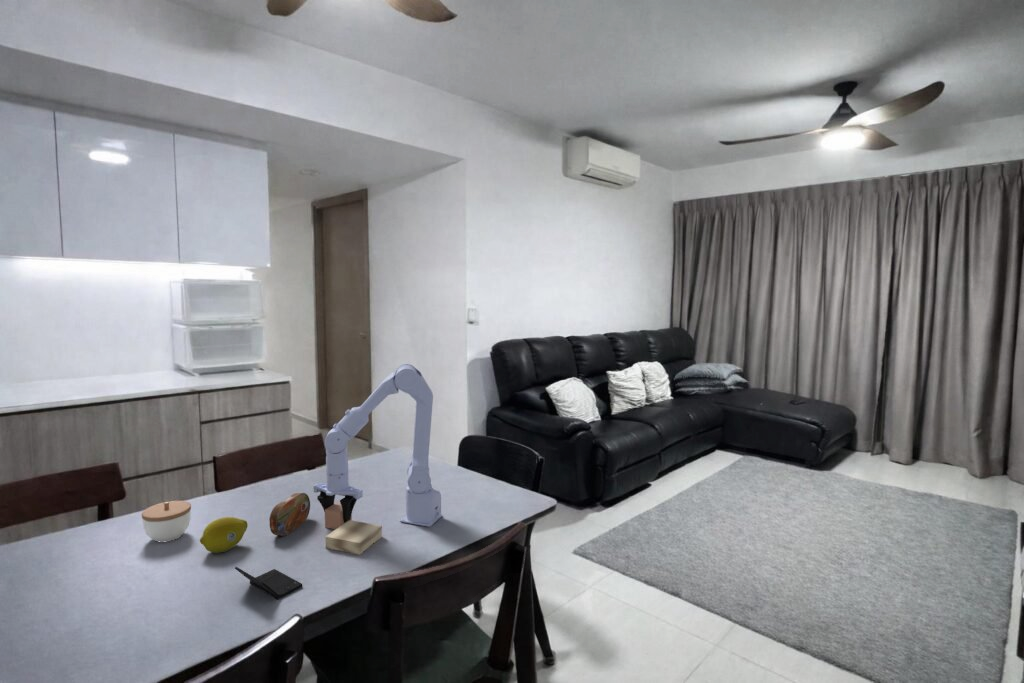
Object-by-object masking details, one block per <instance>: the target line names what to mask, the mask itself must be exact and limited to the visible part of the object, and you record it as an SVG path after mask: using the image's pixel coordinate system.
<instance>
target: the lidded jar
mask: <svg viewBox="0 0 1024 683" xmlns="http://www.w3.org/2000/svg"><path fill="white" fill-rule="evenodd" d="M191 509H192V505H191V502H189V501H185V500H171V501H163V502H159V503H157V504H154V505H151V506H149V507H146V508H145V509H144V510H143V511H142V512H141V519H142V525H143V529H144V531H145V534H146V536H148V537H149V539H151V540H153V541H154V540H155V541H160V542H164V541H170V540H173V541H175V540H174V539H176V540H178V539H179V537H180V536H181V535H182V536H183V534H184V533H185V532H186V531H187V529H188V528H189V526H190V523H191V517H192V516H191V515H192V514H191V513H192V512H191V511H192V510H191ZM182 536H181V537H182ZM181 537H180V538H181ZM177 538H178V539H177ZM155 541H154V542H155ZM170 542H171V541H170Z"/></svg>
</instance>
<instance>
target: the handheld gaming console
mask: <svg viewBox="0 0 1024 683" xmlns="http://www.w3.org/2000/svg"><path fill="white" fill-rule="evenodd" d="M234 570H236V571H237V572H239V573H240V574H242V576H244V577H245V578H246V579H247V580H249V584H251V585H252V586H254V587H256V588H257V589H259V590H261V591H262V592H264V593H266V594H267V595H270V596H271V597H273V598H274V599H275V600H277V601H279V600H281V599H282V598H285V597H287V596H288V595H290V594H292V593H294V592H296V591H298V590H300V589H302V588H303V583H301V582H299V581H298V580H296V579H294V578H292V577H291V576H288V575H287V574H286V573H284V572H281V571H279V570H278V569H275V568H273V569H271V570H269V571H267V572H264V573H263V574H260V575H258V576H256V577H254V575H251V574H249V573H248V572H246V571H245V570H243V569H240V568H239V567H238V566H235V567H234Z"/></svg>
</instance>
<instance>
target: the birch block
mask: <svg viewBox="0 0 1024 683" xmlns="http://www.w3.org/2000/svg"><path fill="white" fill-rule="evenodd" d="M382 537H383V526H382V525H381V524H380V525H379V524H374V523H368V522H361V521H357V520H349V521H347V522H346V523H344V524H343V525H342V526H340V527H339V528H337V529H333V531H331V532H330V533H329V534H327V535H325V549H329V548H331V549H330V550H334V549H335V550H334V551H339V550H340V551H339V552H344V551H345V553H349V552H350V553H349V554H353V555H359V556H360V555H361V554H363V553H364V552H366V550H367V549H369V548H370V547H371V546H373V545H374V544H375V543H376V542H377V541H378V540H380V539H381V538H382ZM373 543H374V544H373ZM363 551H364V552H363Z"/></svg>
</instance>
